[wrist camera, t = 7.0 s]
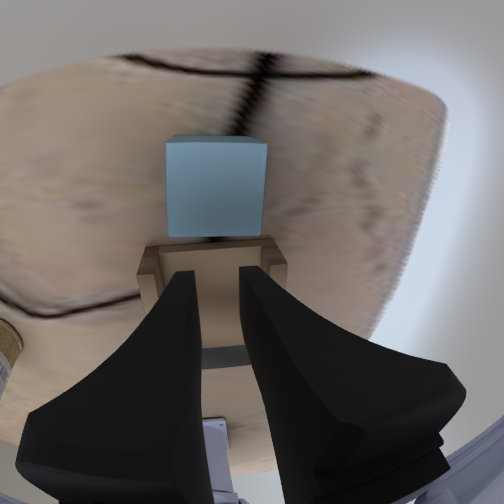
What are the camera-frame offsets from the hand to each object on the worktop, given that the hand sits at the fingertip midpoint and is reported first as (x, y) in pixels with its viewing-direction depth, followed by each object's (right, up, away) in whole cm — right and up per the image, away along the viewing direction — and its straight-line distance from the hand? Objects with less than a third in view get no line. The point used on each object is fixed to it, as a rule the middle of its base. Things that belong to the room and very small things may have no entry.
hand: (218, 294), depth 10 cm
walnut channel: (-2, -3, +12) cm, 13 cm away
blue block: (-1, +3, +6) cm, 7 cm away
